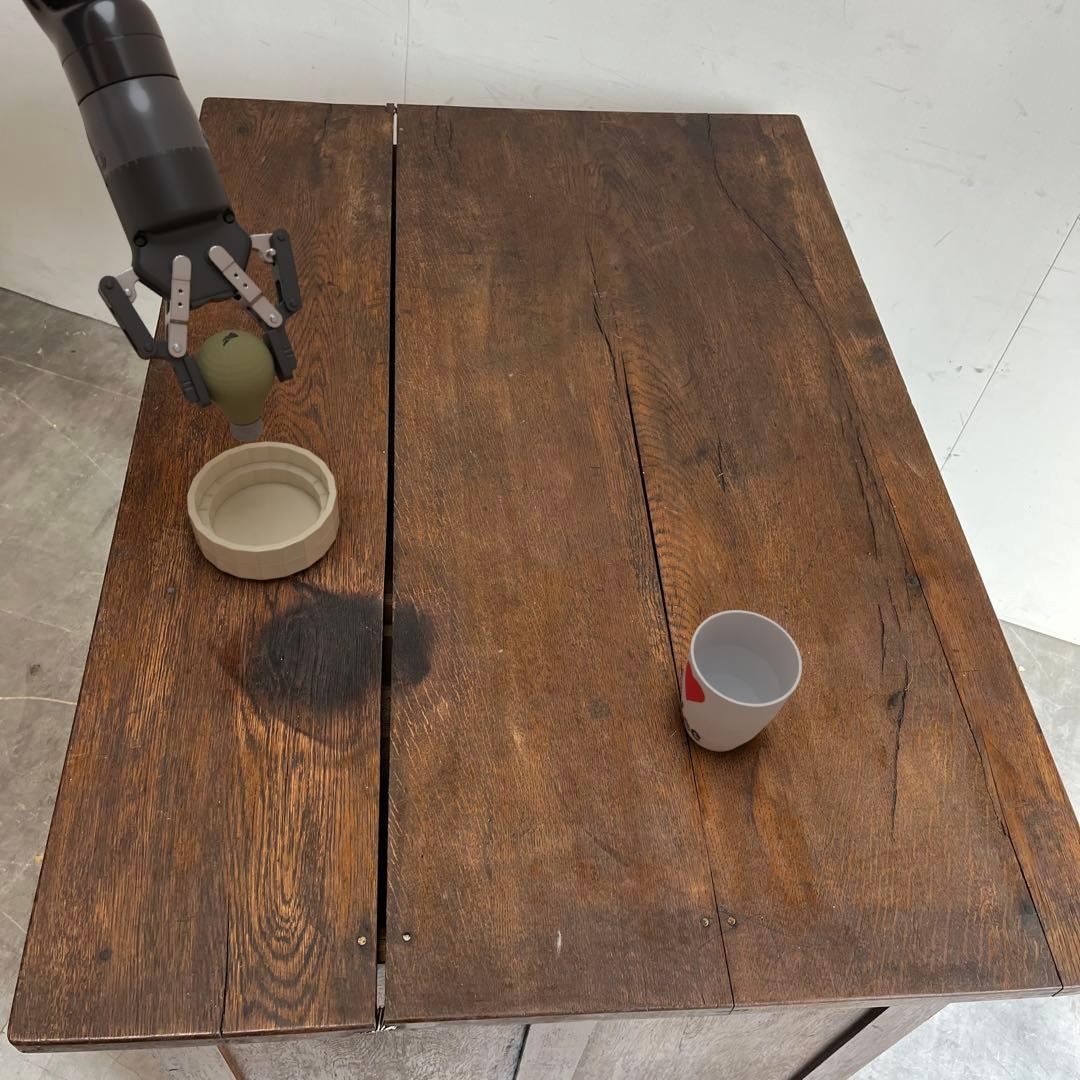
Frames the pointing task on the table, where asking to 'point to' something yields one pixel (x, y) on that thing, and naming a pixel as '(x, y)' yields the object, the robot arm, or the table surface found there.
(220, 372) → the light bulb
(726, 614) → the cup
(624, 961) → the table surface
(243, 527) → the bowl
